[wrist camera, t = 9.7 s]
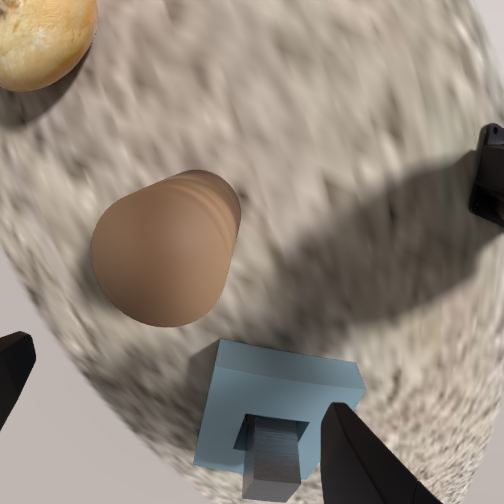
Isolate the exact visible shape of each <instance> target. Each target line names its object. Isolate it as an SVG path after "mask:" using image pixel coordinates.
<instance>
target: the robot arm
mask: <svg viewBox="0 0 504 504" xmlns="http://www.w3.org/2000/svg"><path fill="white" fill-rule="evenodd" d="M493 128H494V130H495V132H493ZM475 204H476V205H477V207H476V209H474V207H475ZM469 211H470V212H471V213H473V214H475V215H478V216H480V217H482V218H484V219H487V220H489V221H491V222H493V223H495V224H498V225H500V226H502V227H504V128H502V127H501V126H499V125H498V124H495V123H490V124H489V125H488V127H487V131H486V137H485V142H484V147H483V151H482V156H481V160H480V164H479V168H478V172H477V176H476V180H475V184H474V188H473V192H472V195H471V199H470V202H469ZM35 361H36V353H35V348H34V344H33V339H32V337H31V335H29V334H27V333H25V332H22V331H18V332H15V333H13V334H10V335H7V336H4V337H1V338H0V431H1V429H2V427H3V425H4V423H5V421H6V420H7V417H8V416H9V414H10V413H11V411H12V409H13V407H14V405H15V404H16V402H17V400H18V398H19V396H20V394H21V392H22V389H23V387H24V385H25V383H26V381H27V379H28V377H29V374H30V372H31V370H32V368H33V366H34V364H35ZM320 471H321V482H322V490H323V499H324V504H443V503H442V502H441V501H439V500H438V499H437V498H436V497H435V496H434V495H433V494H432V493H431V492H430V491H429V490H428V489H427V488H426V487H425V486H424V485H423V484H422V483H421V482H420V481H417V478H416V477H415V476H414V475H413V474H412V473H411V472H410V471H409V470H408V469H407V468H406V467H405V466H404V465H403V464H402V463H401V462H400V460H399V459H398V458H397V457H396V456H395V455H394V454H393V453H392V452H391V451H390V450H389V449H388V448H387V447H386V446H385V445H384V444H383V442H382V441H381V440H380V439H379V438H378V437H377V436H376V435H375V434H374V433H373V432H372V431H371V430H370V429H369V427H368V426H367V425H366V424H365V423H364V422H363V421H362V420H361V419H360V418H359V417H358V416H357V415H356V413H355V412H354V411H353V410H352V409H351V408H350V407H349V406H348V405H347V404H346V403H344V402H332V403H331V404H330V405H329V407H328V409H327V411H326V413H325V415H324V417H323V419H322V422H321V454H320Z"/></svg>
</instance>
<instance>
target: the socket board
mask: <svg viewBox="0 0 504 504" xmlns="http://www.w3.org/2000/svg"><path fill="white" fill-rule="evenodd" d="M365 391H366V388H365V385H364V382H363V380H362V377H361V374H360V372H359V369H358V366H357V364H356V363H355V362H347V361H340V360H333V359H327V358H320V357H314V356H308V355H302V354H296V353H290V352H284V351H279V350H274V349H268V348H263V347H258V346H253V345H248V344H243V343H239V342H234V341H229V340H225V339H220V343H219V347H218V352H217V356H216V360H215V365H214V369H213V374H212V378H211V383H210V387H209V392H208V396H207V400H206V405H205V410H204V414H203V419H202V423H201V428H200V432H199V437H198V442H197V447H196V452H195V457H194V462H193V465H197V466H202V467H207V468H212V469H217V470H223V471H229V472H235V473H242V474H243V472H244V455H245V438H246V424H245V423H242V422H243V419H244V416H245V414H246V413H248V414H254V415H260V416H266V417H273V418H280V419H288V420H296V430H297V441H298V452H299V463H300V474H301V479H305V480H306V479H307V478H308V477H309V475H310V474H311V473H312V471H313V470H314V469H315V467H316V466H317V464H318V463H319V462H320V454H321V422H322V419H323V417H324V415H325V413H326V411H327V409H328V407H329V405H330V404H331V403H332V402H344V403H346V404H347V405H348V406H349V407H350V408H351V409H352V410H353V411H354V409H355V407H356V406H357V404H358V402H359V401H360V399H361V397H362V396H363V394H364V392H365Z"/></svg>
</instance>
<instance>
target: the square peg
mask: <svg viewBox="0 0 504 504" xmlns="http://www.w3.org/2000/svg"><path fill="white" fill-rule="evenodd" d="M300 485H301V474H300V463H299V452H298V441H297V430H296V420H288V419H280V418H273V417H266V416H260V415H254V414H248V415H247V421H246V438H245V455H244V472H243V489H242V498H243V499H251V500H260V501H271V502H284V503H286V502H287V500H288V499H289V498H290V497H291V496H292V495H293V493H294V492H295V491H296V490H297V489H298V487H299V486H300Z"/></svg>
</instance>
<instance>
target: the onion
mask: <svg viewBox="0 0 504 504" xmlns="http://www.w3.org/2000/svg"><path fill="white" fill-rule="evenodd" d="M97 23H98V9H97V2H96V0H0V87H2V88H4V89H7V90H10V91H16V92H28V91H34V90H38V89H41V88H44V87H46V86H49V85H51V84H53V83H54V82H56V81H58V80H59V79H60V78H62V77H63V76H65V75H66V74H67V73H69V72H70V71H71V70H72V69H73V68H74V67H75V66H76V65H77V64H78V62H79V61H80V60H81V58H82V57H83V56H84V54H85V53H86V51H87V50H88V49H89V48H90V45H91V44H92V43H91V42H92V41H93V40H94V35H95V33H96V32H97Z"/></svg>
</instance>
